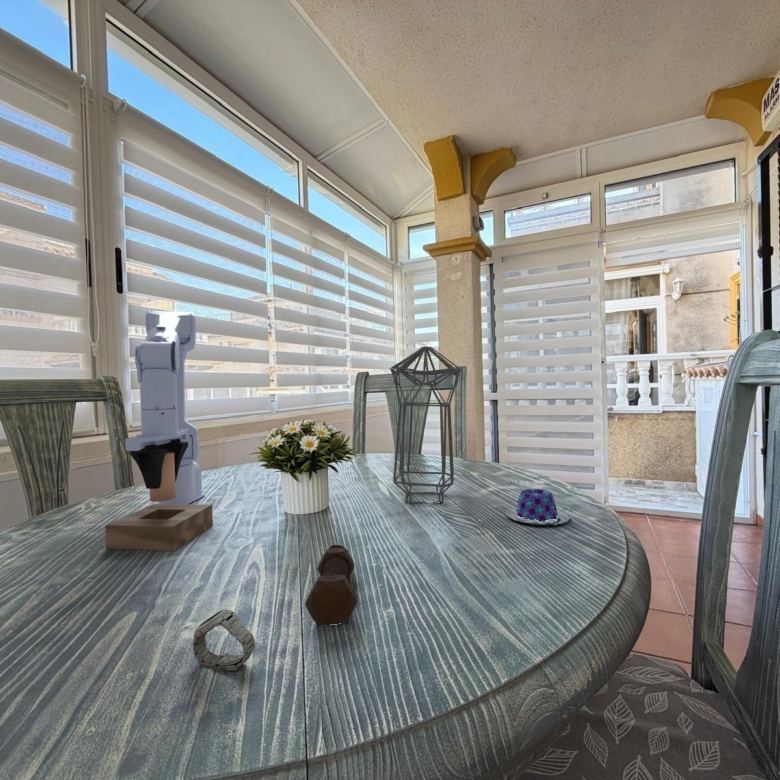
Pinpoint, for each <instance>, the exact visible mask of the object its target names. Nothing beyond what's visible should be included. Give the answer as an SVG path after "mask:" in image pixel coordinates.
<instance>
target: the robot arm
mask: <svg viewBox="0 0 780 780" xmlns="http://www.w3.org/2000/svg"><path fill="white" fill-rule="evenodd" d="M144 324H145V330H146V336H145V339H144V341H143V340H142V341H141V342H140V344H138V343H137V344H136V345H135V348H134V364H135V367H136V372H137V373H136V374H137V375H136V376H137V382H138V383H137V384H139V389H140V390H139V392H140V393H139V395H140V427H141V429H140V431H141V433H137V434H136V436H133V437H130V438H126V439H125V452H129V455H130V457H132V459H133V460H134V461H135V463H136V465H137V467H138V469H139V471H140V473H141V476H142V479H143V482H144V485H145V488H146V489H148V490H150V489H158V488H160V485H161V476H162V465H163V461H164V457H165V454H166V452H174V462H175V496H176V497H175V498H174V499H171V500H168V501H161V502H152V503H150V504H149V506H150V505H153V504H191V503H193V502H195V501H197V500H199V499H201V498H203V497H206V493H202V492H203V488H202V469H201V466H200V465H199V463H198V462H196V461H197V460H198V459H199V458H200V438H199V430H198V429H197V427H196V426H195V425H194V424H192V423H191V422H188V420H186V392H185V390H186V386H185V385H186V384H185V382H186V381H185V380H186V379H185V375H186V374H185V362H186V357H187V353H188V352H190V351H193V350H194V349H195V346H196V333H197V331H196V330H197V329H196V328H197V327H196V314H194V312H193V311H188V312H186V311H168V310H167V311H166V310H165V311H164V310H163V311H162V310H161V311H160V310H152V309H149V310H147V312H146V313H145V323H144Z"/></svg>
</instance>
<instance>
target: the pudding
mask: <svg viewBox="0 0 780 780" xmlns="http://www.w3.org/2000/svg"><path fill="white" fill-rule="evenodd" d="M516 507H517V508H516V512H517V513H516V514H517V515H518V516H520V517H524V518H525V519H530V520H535V519H536V520H539V521H542V520H543V521H545V520H548V519H556V518H557V517H556V516H557V515H558V512H557V510H558V508H557V506H556V503H555V498H554V495H553V493H551V491H548V490H545V489H541V488H540V489H539V488H526V489H522V490H521V491H520V493H519V496H518V501H517V505H516Z"/></svg>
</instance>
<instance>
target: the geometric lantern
mask: <svg viewBox="0 0 780 780" xmlns="http://www.w3.org/2000/svg"><path fill="white" fill-rule="evenodd" d="M430 353H431V354H432V355H433V356H435V357H436V359H438V361H440V363H442V364H443V365H444V366H445V367H446V368H442V369H441V368H440V369H436V368H435V367H436V366H434V361H433V360H432V357H431V354H430ZM422 357H423V365H422V367H423V368H422V370H419V369H418V370H417V368H418V366H419V364H420V362H421V359H422ZM416 360H417V361H416ZM415 361H416V363H415V365H414V368H409V367H410V366H411V365H412V364H413V363H414V362H415ZM428 361H429V362H430V365H431V370H430V369H429V362H428ZM389 370H390V372H391V375H392V377H393V385H394V386H395V391H396V397H397V401H398V405H399V408H398V415H397V416H398V419H397V430H396V431H397V432H396V443H395V452H394V453H395V455H394V463H393V464H394V465H393V466H394V468H393V478H392V482H393V484H394V485H395V486H397V487H398V488H399V489H400V490H401V491H403V492H404V494H405V496H404V503H405V502H409V503H408V504H427V503H426V502H427V501H412V495H413V494H414V495H431V496H432V495H433V496H437V497H438V502H441V501H443V502H444V494H445V492H446V491H447V490H449V488H451V487H452V486H453V485H454V481H455V480H454V479H455V470H454V453H453V452H454V451H453V431H452V414H451V413H452V412H451V411H452V410H451V403H452V399H453V397H454V393H455V391H456V387H458V381H459V377H460V374H461V373H460V372H461V371H462V368H460V366H458V365H456V364H455V363H454V362H453V361H451V360H450V359H448V358H447V357H445V356H444V355H443V354H442V353H440V352H439V351H437V350H436V349H434V347H432V346H426V345H423V346H420V348H418V349H417V350H416V351H414V352H413V353H411V354H410V355H408V356H407V357H405V358H404V359H402V360H401V361H399V362H398V363H396V364H394V365H393V366H391V367H390V368H389ZM400 374H401V375H402V376H404V377H405V378H406V379H407V380H409V381H410V382H411V383H413V384H414V385H413V387H411V389H410V391H409V393H408V395H406V397H405V394H404V392H403V390H402V387H401V377H400ZM411 374H412V375H411ZM416 375H419V376H423V379H422V380H420V379H418V378H417V377H416ZM451 375H453V376H454V380H453V384H451V387H450V390H449V392H448V396H447V399H446V401H445V399H444V398H443V396H442V394H441V393H440V391H439V390H438V388H437V386H438V385H439V384H440V383H442V382H443V381H444V380H446V379H447V378H448V377H449V376H451ZM429 376H434V378H433V379H431V380H429ZM425 380H426V381H427V382H426V381H425ZM417 382H418V383H417ZM416 386H417V387H418V389H417V390H416V392H415V393H414V395H413V397H412V399H411V401H407V400H408V399H409V397H410V396H411V394H412V391H413V390H414V389H415V387H416ZM423 386H428V387H429V388H430V389H431V391H432V393H433V395H434V397H435V398H436V400H437V402H421V401H420V402H414V401H415V400H416V397H417V396H418V394H419V392H420V391H421V389H422V387H423ZM399 389H400V391H399ZM436 391H437V392H436ZM400 392H401V394H402V397H403V400H404V401H403V402H401V397H400ZM437 393H438V394H437ZM438 395H439V397H440V398H439V397H438ZM440 399H441V400H440ZM441 401H443V402H441ZM408 406H409V407H410V412H409V414H410V415H409V427H408V428H409V430H408V431H409V432H408V433H409V434H408V450H407V465H406V466H407V468H406V470H405V429H406V417H407V415H406V414H407V407H408ZM414 407H439V414H440V416H439V417H440V419H439V420H440V421H439V422H440V423H439V424H440V447H441V449H440V452H441V456H440V457H441V471H419V470H418V471H416V470H415V471H413V470H410V467H411V463H410V462H411V447H412V432H413V431H412V427H413V413H414V412H413V408H414ZM443 411H444V413H443ZM443 415H444V416H443ZM401 419H402V420H401ZM401 421H402V422H401ZM401 425H402V426H401ZM400 431H401V442H400ZM447 434H448V452H449V471H450V472H446V465H447V463H446V462H447V461H446V460H447V459H446V458H447V456H446V453H447ZM399 442H400V445H401V446H400V456H399V468H398V467H397V466H398V465H397V464H398V455H399ZM397 468H398V473H397ZM404 474H406V476H407V481H406V479H405V475H404ZM410 474H420V475H423V474H424V475H441V476H440V479H439V481H438V483H426V482H425V483H424V482H411V480H410ZM445 475H446V476H449V477H448V478H447V479H446V477H445ZM399 478H401V480H400V481H399V480H398V479H399ZM445 479H446V480H445ZM449 481H450V482H449ZM448 482H449V483H448ZM441 483H442V484H441ZM401 485H402V486H403V487H402V486H401ZM412 486H415V487H417V486H418V487H435V489H436V490H435V491H412ZM435 492H437V493H435ZM408 495H409V497H408ZM440 495H441V496H440ZM408 498H409V499H408ZM408 500H409V501H408Z"/></svg>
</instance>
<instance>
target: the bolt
mask: <svg viewBox="0 0 780 780" xmlns="http://www.w3.org/2000/svg"><path fill="white" fill-rule="evenodd" d="M355 565H356V564H355V562H354V560H353V558H352V556H351V554H350V553H349V551H348V549H347V548H346V547H345V546H343V545H339V544H332V545H331V546H330V547H328V548H326V550H325V552H324V553H323V554H322V557H321V559H320V561H319V563H318V565H317V568H316V570H317V572H318V573H319V576H318V577H317V579H316V581H315V582H314V584H313V586H312V588H311V590H310V591H309V594H308V596H307V598H306V599H305V602H304V606H305V607H306V610H307V612H308V614H309V615H310V616H311V619H312V621H313V622H314V623H315V624H316V625H317V626H320V625H330V624H339V623H344V622H347V623H348V621H349V620H350V618H351V616H352V615H353V613H354V611H355V608H356V606H357V603H358V601H359V598H358V594H357V593H356V591H355V590H354V588H353V586H352V585H351V583H350V581H349V579H350V577H351V575H352V573H353V571H354V569H355Z"/></svg>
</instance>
